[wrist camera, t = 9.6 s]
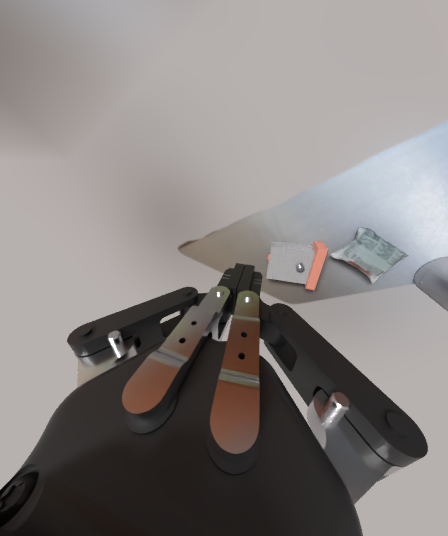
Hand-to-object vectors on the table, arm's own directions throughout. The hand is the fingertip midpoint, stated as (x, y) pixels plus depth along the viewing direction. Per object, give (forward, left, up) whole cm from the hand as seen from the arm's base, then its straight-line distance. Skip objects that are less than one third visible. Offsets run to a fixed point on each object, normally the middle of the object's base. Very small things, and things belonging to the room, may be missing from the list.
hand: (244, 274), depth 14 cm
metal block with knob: (-7, +13, -32) cm, 35 cm away
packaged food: (-24, +9, -32) cm, 41 cm away
